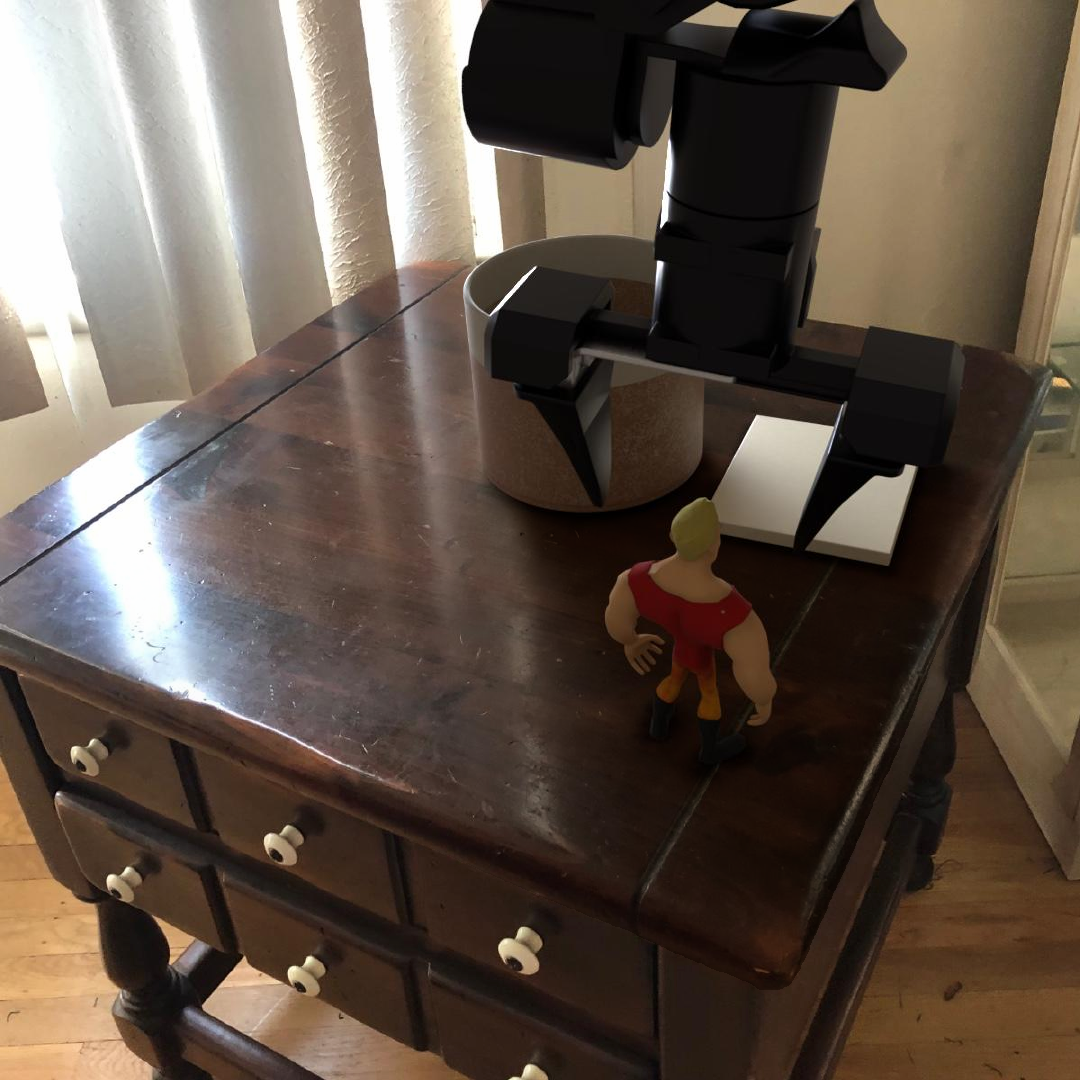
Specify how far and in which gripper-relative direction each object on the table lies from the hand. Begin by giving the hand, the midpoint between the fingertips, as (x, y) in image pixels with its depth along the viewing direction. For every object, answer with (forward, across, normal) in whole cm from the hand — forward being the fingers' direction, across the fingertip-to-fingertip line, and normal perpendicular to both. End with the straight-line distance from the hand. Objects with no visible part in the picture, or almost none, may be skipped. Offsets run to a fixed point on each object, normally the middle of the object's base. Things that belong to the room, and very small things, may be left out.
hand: (697, 524), depth 52 cm
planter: (+15, +12, -25) cm, 32 cm away
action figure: (+14, -1, 0) cm, 14 cm away
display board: (+14, -4, -25) cm, 29 cm away
